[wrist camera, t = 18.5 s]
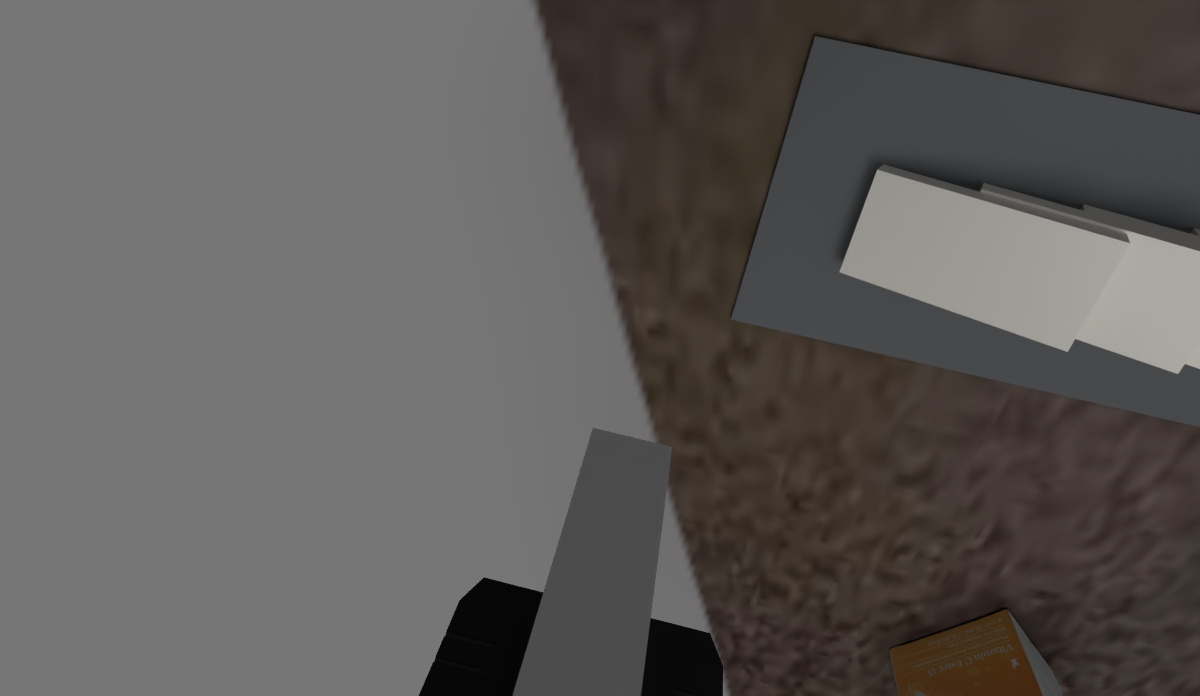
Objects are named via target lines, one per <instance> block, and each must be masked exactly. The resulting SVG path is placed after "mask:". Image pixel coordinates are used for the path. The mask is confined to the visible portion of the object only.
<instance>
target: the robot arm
mask: <svg viewBox="0 0 1200 696" xmlns="http://www.w3.org/2000/svg"><path fill="white" fill-rule="evenodd" d="M671 451H672V447H670V446H666V445H662V444H658V443H654V442H649V441H645V440H641V439H636V438H633V437H629V436H624V435H620V434H616V433H612V432H608V431H604V430H599V429H596V428H593V430H592V433H591V436H590V440H589V443H588V447H587V450H586V453H585V456H584V459H583V463H582V466H581V469H580V473H579V476H578V479H577V483H576V486H575V490H574V493H573V496H572V500H571V503H570V506H569V509H568V513H567V516H566V519H565V523H564V526H563V529H562V533H561V536H560V539H559V543H558V546H557V549H556V553H555V556H554V559H553V563H552V566H551V569H550V573H549V576H548V579H547V583H546V586H545V589H544V592H539V591H535V590H531V589H527V588H523V587H519V586H515V585H511V584H507V583H503V582H500V581H496V580H491V579H488V578H483V579H482V580H481V581H480V582H479V583H478V584H477V585H475V586H474V587H473V588H472V589H471V590H470V591H469V592H468V593H467V594H466V595H465V596H464V597H463V598H462V599H461V600H460V601H459V603H458V606H457V608H456V610H455V613H454V615H453V617H452V620H451V622H450V625H449V627H448V629H447V632H446V635H445V637H444V638H443V641H442V643H441V645H440V648H439V650H438V652H437V655H436V658H435V661H434V662H433V664H432V666H431V669H430V671H429V673H428V676H427V678H426V680H425V683H424V685H423V687H422V690H421V692H420V694H419V696H723V665H722V662H721V660H720V657H719V655H718V652H717V650H716V647H715V645H714V642H713V640H712V637H711V635H710V633H707V632H703V631H699V630H695V629H691V628H687V627H683V626H679V625H675V624H672V623H668V622H664V621H660V620H656V619H652V618H651V609H652V602H653V594H654V586H655V578H656V570H657V562H658V555H659V554H658V553H659V547H660V538H661V531H662V523H663V515H664V507H665V499H666V491H667V483H668V475H669V467H670V459H671Z"/></svg>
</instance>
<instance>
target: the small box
mask: <svg viewBox="0 0 1200 696" xmlns="http://www.w3.org/2000/svg"><path fill="white" fill-rule="evenodd" d="M890 657H891V661H892V666H893V671H894V675H895V680H896V684H897V689H898V694H899V696H1063V694H1062V692H1061V690H1060V687H1059V685H1058V683H1057V681H1056V679H1055V677H1054V674H1053V672H1052V670H1051V668H1050V667H1049V665H1048V664H1047V663H1046V662H1045V660H1044V659H1043V657H1042V656H1041V655H1040V653H1039V652H1038V651H1037V649H1036V648H1035V647H1034V645H1033V644H1032V643H1031V641H1030V640H1029V638H1028V637H1027V636H1026V634H1025V633H1024V631H1023V630H1022V629H1021V627H1020V626H1019V624H1018V623H1017V622H1016V620H1015V619H1014V618H1013V616H1012V615H1011V613H1010V612H1009V611H1008V610H1007V609H1005V610H1002V611H1000V612H997V613H995V614H992V615H990V616H987V617H984V618H981V619H979V620H976V621H973V622H970V623H967V624H964V625H961V626H958V627H955V628H953V629H950V630H947V631H944V632H941V633H938V634H935V635H932V636H929V637H926V638H923V639H920V640H917V641H914V642H911V643H908V644H905V645H902V646H897V647H894V648H891V649H890Z"/></svg>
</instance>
